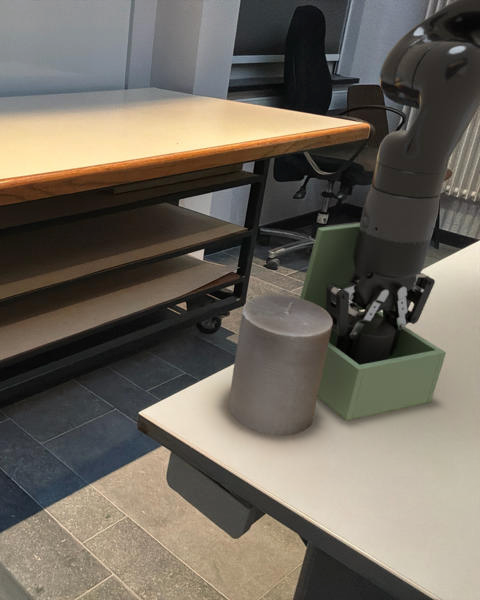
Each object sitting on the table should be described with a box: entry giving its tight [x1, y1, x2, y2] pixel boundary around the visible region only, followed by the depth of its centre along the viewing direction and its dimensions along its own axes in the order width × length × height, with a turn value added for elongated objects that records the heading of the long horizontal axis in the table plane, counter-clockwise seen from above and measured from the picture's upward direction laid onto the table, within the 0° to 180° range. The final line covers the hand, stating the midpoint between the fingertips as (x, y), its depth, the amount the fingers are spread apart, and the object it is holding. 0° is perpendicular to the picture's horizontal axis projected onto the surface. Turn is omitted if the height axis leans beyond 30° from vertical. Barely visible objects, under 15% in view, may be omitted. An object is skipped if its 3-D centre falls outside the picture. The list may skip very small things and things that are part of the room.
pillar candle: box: [227, 294, 333, 436], centre depth 77 cm, size 10×10×15 cm
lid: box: [299, 221, 365, 311], centre depth 85 cm, size 12×13×4 cm
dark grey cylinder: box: [349, 317, 395, 365], centre depth 83 cm, size 5×5×8 cm
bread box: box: [317, 310, 447, 422], centre depth 84 cm, size 12×13×8 cm
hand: (364, 356), depth 83 cm, fingers closed on dark grey cylinder, 5 cm apart
